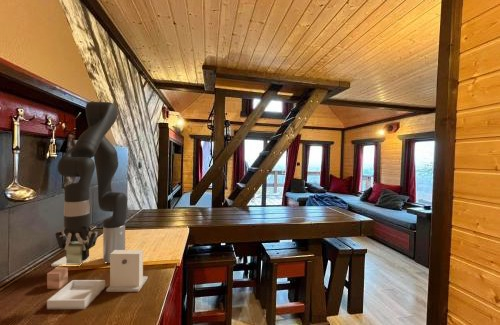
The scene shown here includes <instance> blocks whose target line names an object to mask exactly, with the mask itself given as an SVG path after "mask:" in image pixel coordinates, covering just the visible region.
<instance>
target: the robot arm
mask: <svg viewBox="0 0 500 325" xmlns="http://www.w3.org/2000/svg"><path fill="white" fill-rule="evenodd" d="M85 117H86V121H87V125H88V128H87V129H86V130H84V131H83V132H82V133H81V134H79V137H78V139H77V140H76V142H75V144H74V146H73V147H72V148H70V149H69V150H68V151H67V152H66V153H65V154H63V156H61V158H60V159H59V160H58V162H57V167H56V168H57V172H58V173H59V175H60V176H62V177H67V178H68V177H69V178H71V177H73V178H74V177H75V178H76V177H77V178H79V179H78V181H77V182H73V183H68V184H67V185H65V187H64V205H63V227H64V229H63V230H59V231H57V232H55V234H54V235H55V238H56V241H57V245H58V247H59V249H61V250H62V249H63V250H64V251H66V247H67V246H68V245H70V244H72V243H74V242H79V244H80V245H82V260H86V259H87V258H88V257H89V256H90V249H92V248H93V247H95V246H96V243H97V239H98V236H99V234H100V232H99V230H92V229H91V227H90V225H91V204H90V203H91V202H90V186H91V182H92V179H93V177H94V173H96V179H97V199H98V200H97V201H98V206H99V209H100V210H101V211H104V212H112V216H111V217H108V218H105V219H104V220H103V222H102V232H103V233H102V237H103V238H102V241H103V242H102V245H103V246H102V247H103V248H102V251H103V252H102V254H103V256H102V258H103V259H102V260H103V261H104V262H107V263H110V254H111V253H112V252H113V251H114V250H126V219H127V215H128V214H127V213H128V197H127V194H125V193H124V192H116V191H112V181H113V180H112V179H113V178H114V176H115V174H116V172H117V170H118V169H119V158H118V152H117V150H116V147H114V145H113V144H112V143H111V142H110V140H109V139H108V138H107V137H106V135H107V133H108V132H109V131H110V129H111V128H112V127H113V125H114V124H115V122H116V121H117V117H118V109H117V107H116V105H115V104H114V103H112V102H111V101H110V102H108V101H89V102H87V103H86V105H85ZM92 158H93V159H94V160H93V159H92ZM95 171H96V172H95ZM103 261H102V262H103ZM104 262H103V263H104Z"/></svg>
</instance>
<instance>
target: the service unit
mask: <svg viewBox="0 0 500 325" xmlns="http://www.w3.org/2000/svg"><path fill="white" fill-rule="evenodd" d="M148 277H149V276H147V275H144V250H143V249H125V250H114V251H113V252H112V253H111V254H110V264H109V282H110V283H109V286H108V287H107V288H106V290H105V292H107V293H108V292H109V293H110V292H112V293H113V292H115V293H116V292H117V293H118V292H119V293H121V292H122V293H123V292H124V293H125V292H127V293H129V292H133V293H134V292H137V293H138V292H139V291H140V290H141V289H142V287H143V286H144V284H145V283H146V281H147V280H148Z"/></svg>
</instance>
